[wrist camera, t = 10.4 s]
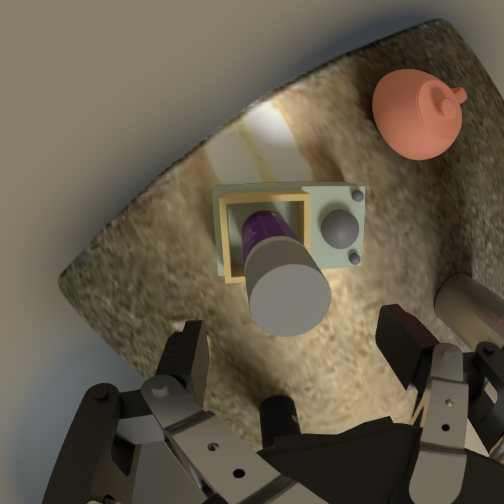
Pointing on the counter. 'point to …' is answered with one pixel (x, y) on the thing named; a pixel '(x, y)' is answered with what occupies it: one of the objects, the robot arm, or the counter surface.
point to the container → (281, 277)
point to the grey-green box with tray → (292, 220)
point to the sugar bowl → (417, 113)
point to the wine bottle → (277, 419)
